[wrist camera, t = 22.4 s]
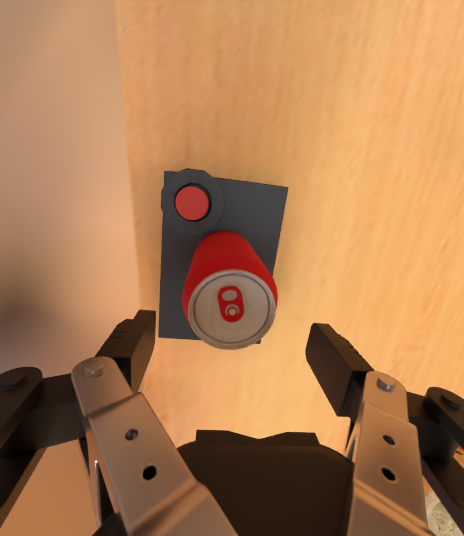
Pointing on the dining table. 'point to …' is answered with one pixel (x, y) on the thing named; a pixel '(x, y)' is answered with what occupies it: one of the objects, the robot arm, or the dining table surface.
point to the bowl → (441, 508)
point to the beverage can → (229, 292)
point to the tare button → (192, 203)
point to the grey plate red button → (215, 219)
